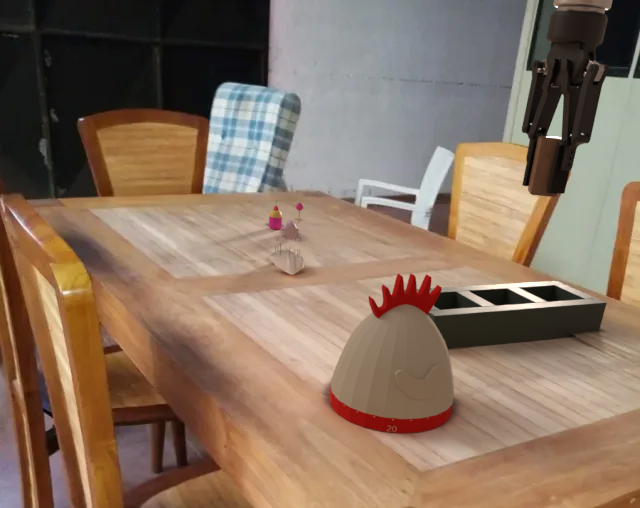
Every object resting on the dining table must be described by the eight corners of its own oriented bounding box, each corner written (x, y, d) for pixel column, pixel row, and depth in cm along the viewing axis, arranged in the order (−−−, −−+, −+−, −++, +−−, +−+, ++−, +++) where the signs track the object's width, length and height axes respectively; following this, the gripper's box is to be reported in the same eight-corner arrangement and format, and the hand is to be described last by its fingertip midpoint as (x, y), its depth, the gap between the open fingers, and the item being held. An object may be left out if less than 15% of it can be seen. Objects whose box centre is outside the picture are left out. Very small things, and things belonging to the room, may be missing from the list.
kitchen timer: (474, 425, 77) (500, 292, 70) (359, 439, 73) (374, 298, 66) (415, 374, 89) (432, 255, 82) (312, 384, 84) (321, 258, 77)
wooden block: (529, 195, 106) (541, 137, 102) (527, 190, 109) (538, 135, 105) (557, 197, 105) (569, 140, 101) (553, 193, 109) (565, 137, 105)
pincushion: (309, 278, 123) (311, 245, 120) (274, 277, 122) (275, 244, 119) (297, 259, 133) (299, 229, 131) (265, 259, 132) (266, 228, 130)
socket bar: (598, 334, 107) (607, 302, 105) (429, 351, 96) (434, 316, 94) (549, 310, 116) (556, 280, 114) (390, 322, 105) (394, 290, 103)
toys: (308, 240, 148) (310, 210, 145) (270, 238, 147) (271, 208, 144) (302, 221, 163) (303, 194, 161) (267, 220, 162) (268, 192, 160)
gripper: (517, 9, 102) (488, 178, 113) (605, 7, 87) (562, 201, 98) (559, 14, 105) (526, 179, 115) (651, 12, 90) (604, 201, 101)
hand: (542, 189), depth 107 cm, fingers closed on wooden block, 5 cm apart
